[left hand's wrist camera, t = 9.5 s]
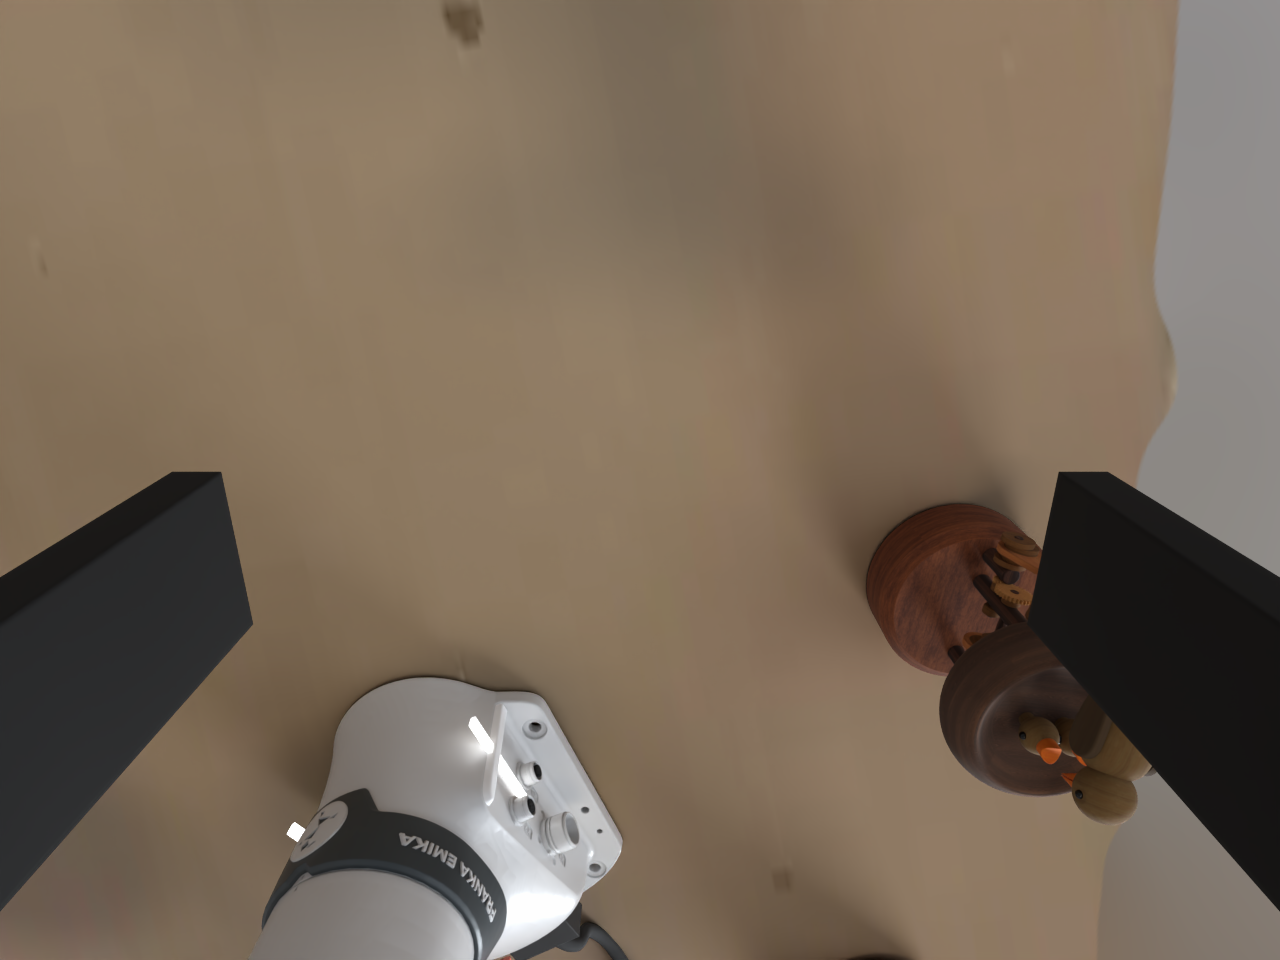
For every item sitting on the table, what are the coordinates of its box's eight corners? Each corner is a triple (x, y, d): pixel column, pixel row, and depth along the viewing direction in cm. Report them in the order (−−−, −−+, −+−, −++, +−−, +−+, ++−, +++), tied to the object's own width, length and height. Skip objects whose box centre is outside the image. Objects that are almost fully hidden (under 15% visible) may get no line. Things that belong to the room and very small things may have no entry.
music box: (870, 478, 46) (1071, 674, 28) (1043, 474, 47) (1350, 661, 29) (843, 689, 52) (997, 971, 33) (999, 682, 53) (1233, 952, 34)
